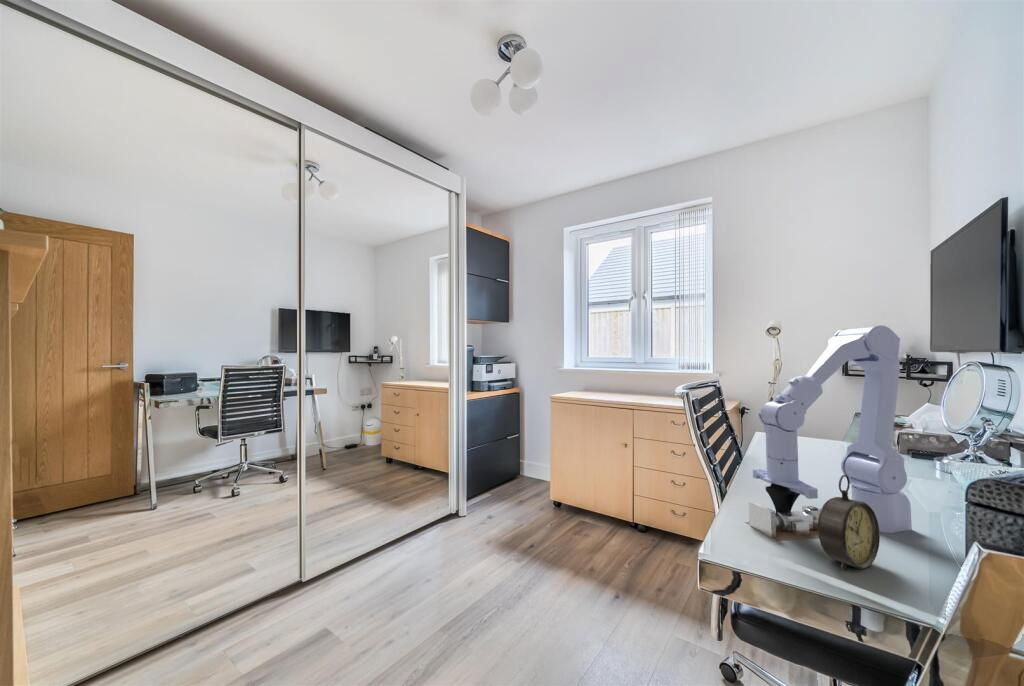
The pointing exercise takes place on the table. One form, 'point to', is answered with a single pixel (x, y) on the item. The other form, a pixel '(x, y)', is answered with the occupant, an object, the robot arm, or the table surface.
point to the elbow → (801, 517)
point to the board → (793, 535)
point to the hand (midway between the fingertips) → (783, 521)
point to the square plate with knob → (772, 521)
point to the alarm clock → (848, 530)
